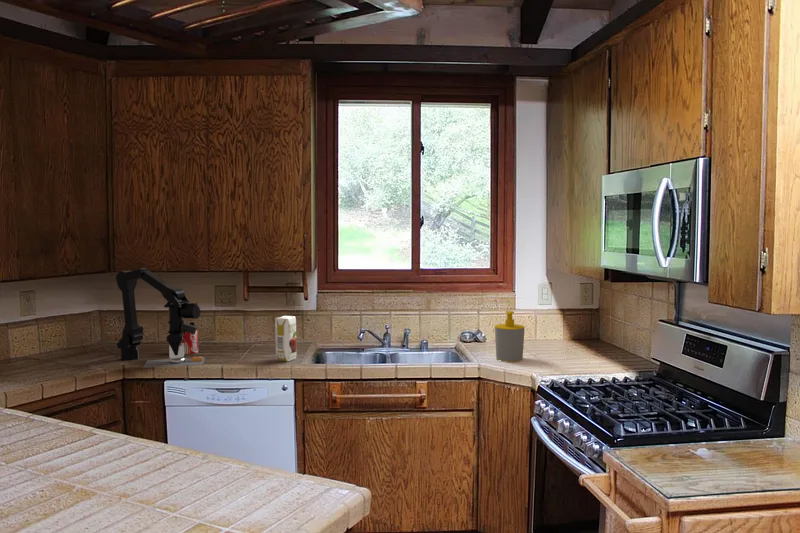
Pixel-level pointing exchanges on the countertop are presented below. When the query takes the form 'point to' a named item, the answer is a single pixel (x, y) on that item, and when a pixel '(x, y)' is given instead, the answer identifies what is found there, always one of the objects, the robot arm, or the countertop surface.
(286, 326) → the juice carton
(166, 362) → the tool mat
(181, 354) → the socket
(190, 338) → the soda can
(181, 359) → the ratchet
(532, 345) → the countertop surface
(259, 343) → the countertop surface
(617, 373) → the countertop surface
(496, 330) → the soap bottle
